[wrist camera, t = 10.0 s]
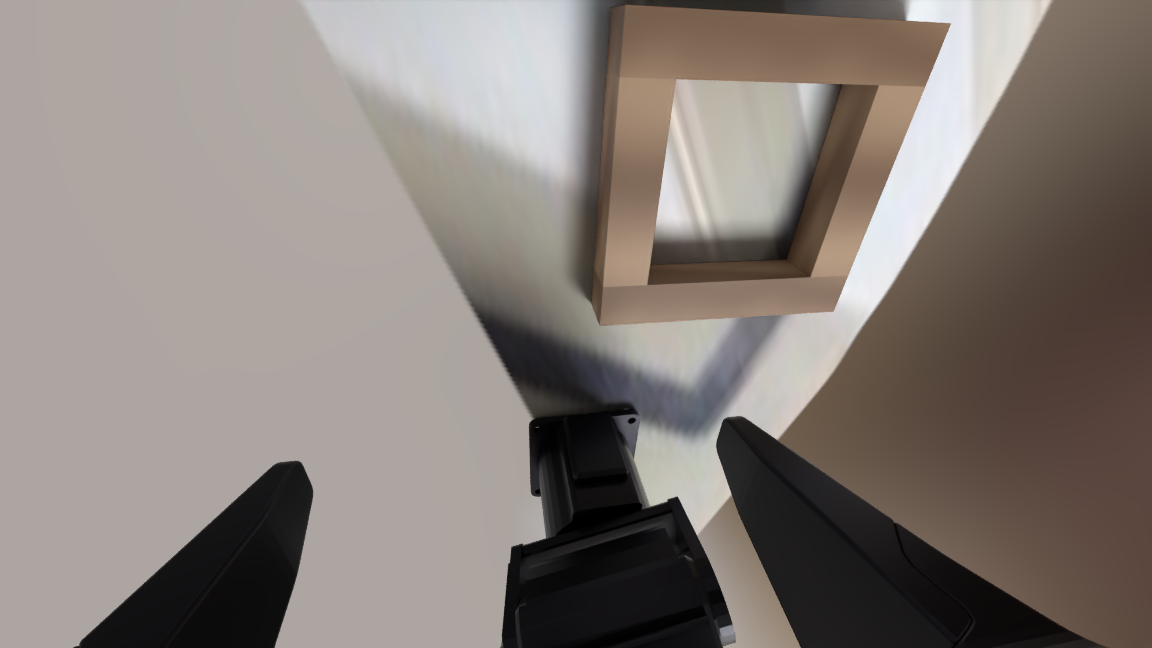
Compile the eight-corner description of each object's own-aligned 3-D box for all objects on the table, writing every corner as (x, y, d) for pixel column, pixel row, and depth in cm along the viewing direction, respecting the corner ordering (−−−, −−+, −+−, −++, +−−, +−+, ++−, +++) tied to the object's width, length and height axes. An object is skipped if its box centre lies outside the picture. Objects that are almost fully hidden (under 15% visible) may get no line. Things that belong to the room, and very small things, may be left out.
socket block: (809, 292, 24) (833, 311, 22) (591, 304, 22) (600, 325, 20) (907, 24, 18) (951, 23, 16) (610, 7, 16) (625, 4, 14)
